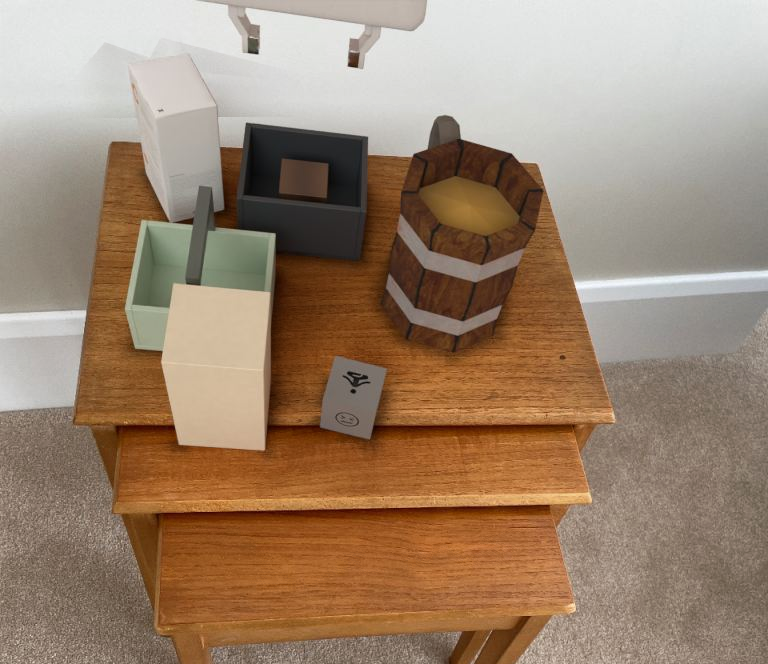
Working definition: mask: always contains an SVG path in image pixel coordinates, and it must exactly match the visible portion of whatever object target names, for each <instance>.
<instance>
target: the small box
mask: <svg viewBox="0 0 768 664" xmlns="http://www.w3.org/2000/svg"><path fill="white" fill-rule="evenodd" d="M127 68H128V74H129V81H130V86H131V92H132V98H133V104H134V111H135V115H136V123H137V128H138V134H139V139H140V145H141V150H142V156H143V157H142V158H143V163H144V169H145V170H144V171H145V174H146V177H147V179H148V181H149V182H150V184H151V187H152V189H153V191H154V193H155V195H156V197H157V199H158V201H159V203H160V206H161V207H162V210H163V211H164V214H165V215H166V217H167V220H168V222H169V223H177V222H181V221H184V220H185V221H186V220H190V219H194V215H195V208H196V202H197V195H198V189H199V186H207V187H212V194H213V205H214V213H218V212H221V211H225V194H224V182H223V170H222V169H223V168H222V154H221V153H222V152H221V141H220V128H219V127H220V126H219V110H218V104H217V102H216V100H215V98H214V97H213V95H212V93H211V91H210V89H209V88H208V86H207V84H206V83H205V80H204V78H203V77H202V74H201V73H200V71H199V70H198V68H197V66H196V64H195V62H194V61H193V58H192V57H191V55H190V53H184V54H177V55H172V56H171V55H170V56H165V57H160V58H155V59H148V60H143V61H136V62H131V63H128V64H127Z"/></svg>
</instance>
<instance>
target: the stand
mask: <svg viewBox="0 0 768 664" xmlns="http://www.w3.org/2000/svg"><path fill="white" fill-rule="evenodd" d="M271 335H272V321H271V293H270V292H262V291H251V290H241V289H230V288H219V287H208V286H197V285H186V284H176V283H174V284H173V290H172V296H171V303H170V309H169V315H168V322H167V328H166V334H165V341H164V347H163V351H162V355H161V359H160V360H161V367H162V372H163V376H164V381H165V386H166V391H167V395H168V400H169V405H170V410H171V414H172V419H173V423H174V428H175V434H176V439H177V443H178V445H179V446H192V447H203V448H204V447H206V448H219V449H220V448H221V449H233V450H235V449H237V450H249V451H252V450H253V451H264V452H265V451H266V445H267V433H268V419H269V408H270V407H269V406H270V398H271V397H270V395H271V386H272V385H271V383H272V336H271Z"/></svg>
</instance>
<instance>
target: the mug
mask: <svg viewBox="0 0 768 664" xmlns="http://www.w3.org/2000/svg"><path fill="white" fill-rule="evenodd" d="M432 123H433V124H432V126H431V129H430V132H429V137H428V145H427V148H426V149H424V150H421V151H418V152H414V153H413V154H412V157H411V160H410V163H409V167H408V169H407V173H406V176H405V179H404V183H403V185H402V188H401V191H400V206H399V207H400V210H399V218H398V223H397V229H396V233H395V236H394V239H393V242H392V245H391V249H390V252H389V266H388V277H387V280H386V284H385V287H384V291H383V294H382V298H381V300H380V306H381V307H382V309H383V310H384V311H385V312H386V314H387V315H388V317H389V318H390V320H391V321H392V322H393V324H394V325H395V327H396V328H397V329H398V332H400V334H401V335H402V336H403V338H404V339H405V340H406V341H410V342H414V343H418V344H421V345H424V346H428V347H431V348H434V349H439V350H441V351H446V352H450V353H455V352H456V353H457V352H458V351H460V350H461V351H462V350H463V349H465V348H468V347H470V346H473V345H474V344H477V343H479V342H481V341H483V340H485V339H489V338H490V337H492V336H494V333H495V328H496V325H497V320H498V317H499V315H500V312H501V309H502V307H503V304H504V303H505V301H506V299H507V297H508V295H509V293H510V291H511V290H512V288H513V284H514V281H515V277H516V273H517V270H518V266H519V264H520V261H521V258H522V256H523V253H524V251H525V249H526V247H527V245H528V244H529V241H530V240H531V239H532V236H533V235H534V233H535V232H536V229H537V224H538V221H539V220H538V218H539V214H540V209H541V205H542V204H541V203H542V201H543V197H544V196H543V195H544V189H543V187H542V186H541V185H540V184H539V182H537V181H536V180H535V179H534V177H533V176H532V175H531V174H530V173H529V171H528V170H527V169H526V168H525V167H524V166H523V164H522V163H521V162H520V161H519V160H518V159H517V158H516V156H515V155H514V154H513V153H512V152H509V151H505V150H500V149H498V148H493V147H490V146H487V145H483V144H480V143H476V142H474V141H473V142H472V141H469V140H466V139H462V136H461V126H460V124H459V123H458V121H457V119H455V117H453V116H451V115H447V114H443V115H438V116H437V117H436V118H435V119H434V120H433V122H432Z"/></svg>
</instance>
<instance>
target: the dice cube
mask: <svg viewBox="0 0 768 664" xmlns="http://www.w3.org/2000/svg"><path fill="white" fill-rule="evenodd" d="M387 371H388V368H386V367H382V366H379V365H375V364H371V363H366V362H362V361H359V360H354V359H351V358H347V357H342V356H338V355H334V359H333V363H332V366H331V369H330V372H329V376H328V380H327V383H326V385H325V386H326V387H325V390H324V393H323V397H322V404H321V413H320V423H319V428H320V429H325V430H329V431H333V432H337V433H341V434H345V435H349V436H354V437H357V438H361V439H364V440H371V437H372V434H373V429H374V425H375V422H376V417H377V414H378V410H379V405H380V403H381V402H380V401H381V397H382V393H383V390H384V384H385V380H386V376H387Z"/></svg>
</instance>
